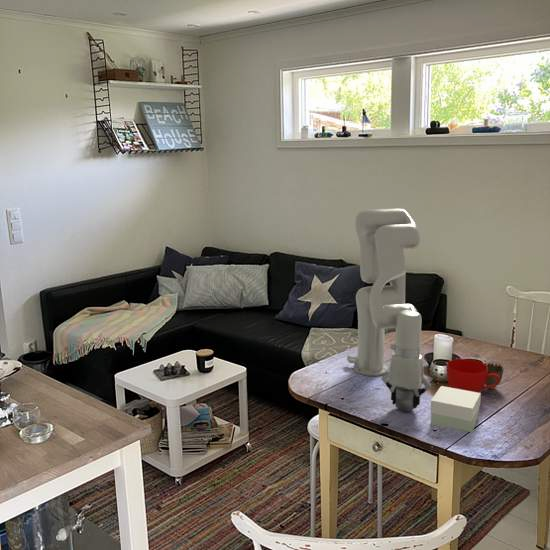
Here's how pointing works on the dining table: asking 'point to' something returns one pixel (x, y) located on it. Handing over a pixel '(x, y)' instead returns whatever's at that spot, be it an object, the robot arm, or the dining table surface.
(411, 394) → the slate drum
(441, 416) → the tower base block
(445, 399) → the tower top block
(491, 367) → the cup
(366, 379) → the dining table surface
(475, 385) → the ceramic cup
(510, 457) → the dining table surface
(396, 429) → the dining table surface
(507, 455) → the dining table surface
